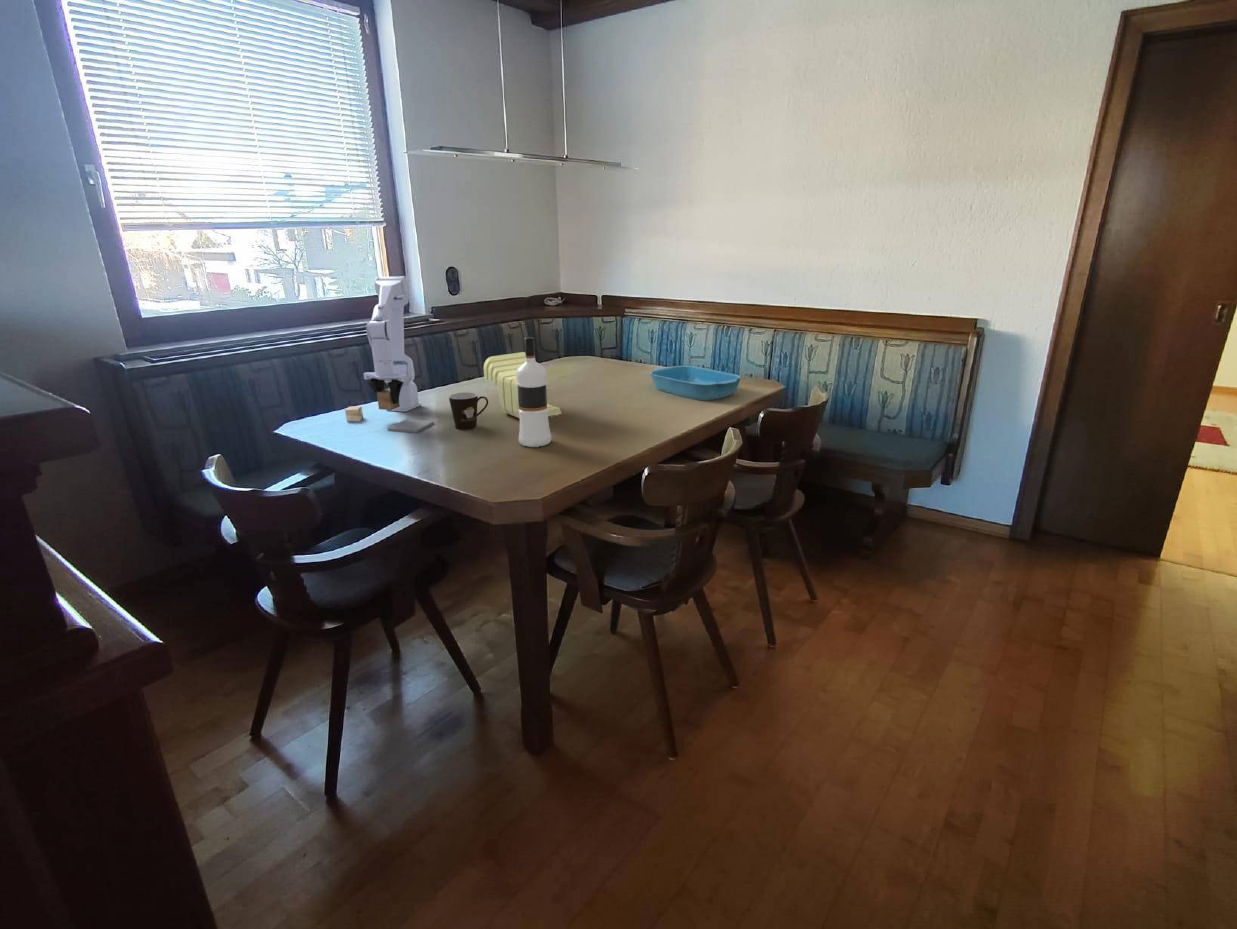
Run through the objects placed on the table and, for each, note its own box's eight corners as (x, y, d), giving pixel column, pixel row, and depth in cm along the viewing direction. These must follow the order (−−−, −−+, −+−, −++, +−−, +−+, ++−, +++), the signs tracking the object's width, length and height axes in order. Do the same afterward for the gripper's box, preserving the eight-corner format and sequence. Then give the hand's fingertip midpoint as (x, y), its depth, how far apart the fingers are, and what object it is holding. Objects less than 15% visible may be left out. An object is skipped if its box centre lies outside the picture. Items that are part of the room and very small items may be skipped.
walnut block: (387, 405, 210) (385, 388, 208) (399, 406, 208) (397, 389, 206) (379, 409, 206) (376, 392, 204) (391, 410, 204) (388, 393, 202)
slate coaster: (406, 421, 208) (406, 419, 208) (434, 423, 205) (433, 421, 205) (387, 430, 199) (387, 427, 199) (416, 432, 196) (415, 430, 196)
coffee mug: (451, 432, 197) (447, 399, 193) (452, 424, 205) (449, 393, 201) (490, 429, 199) (487, 397, 195) (489, 421, 207) (487, 391, 203)
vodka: (518, 448, 181) (510, 340, 171) (519, 438, 189) (512, 335, 179) (551, 447, 182) (546, 339, 171) (551, 437, 190) (546, 334, 180)
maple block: (350, 418, 213) (349, 406, 212) (363, 418, 213) (361, 406, 212) (346, 421, 209) (345, 409, 208) (359, 421, 209) (357, 409, 208)
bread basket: (486, 409, 221) (482, 357, 215) (527, 402, 230) (524, 351, 224) (534, 428, 199) (530, 371, 193) (576, 419, 208) (574, 364, 202)
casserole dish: (639, 388, 249) (639, 369, 247) (681, 379, 262) (681, 362, 260) (708, 406, 222) (709, 386, 220) (752, 396, 235) (753, 377, 233)
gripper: (354, 361, 200) (361, 404, 205) (395, 363, 196) (401, 407, 201) (369, 357, 206) (375, 398, 211) (409, 359, 203) (414, 401, 207)
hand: (388, 402), depth 206 cm, fingers closed on walnut block, 4 cm apart
